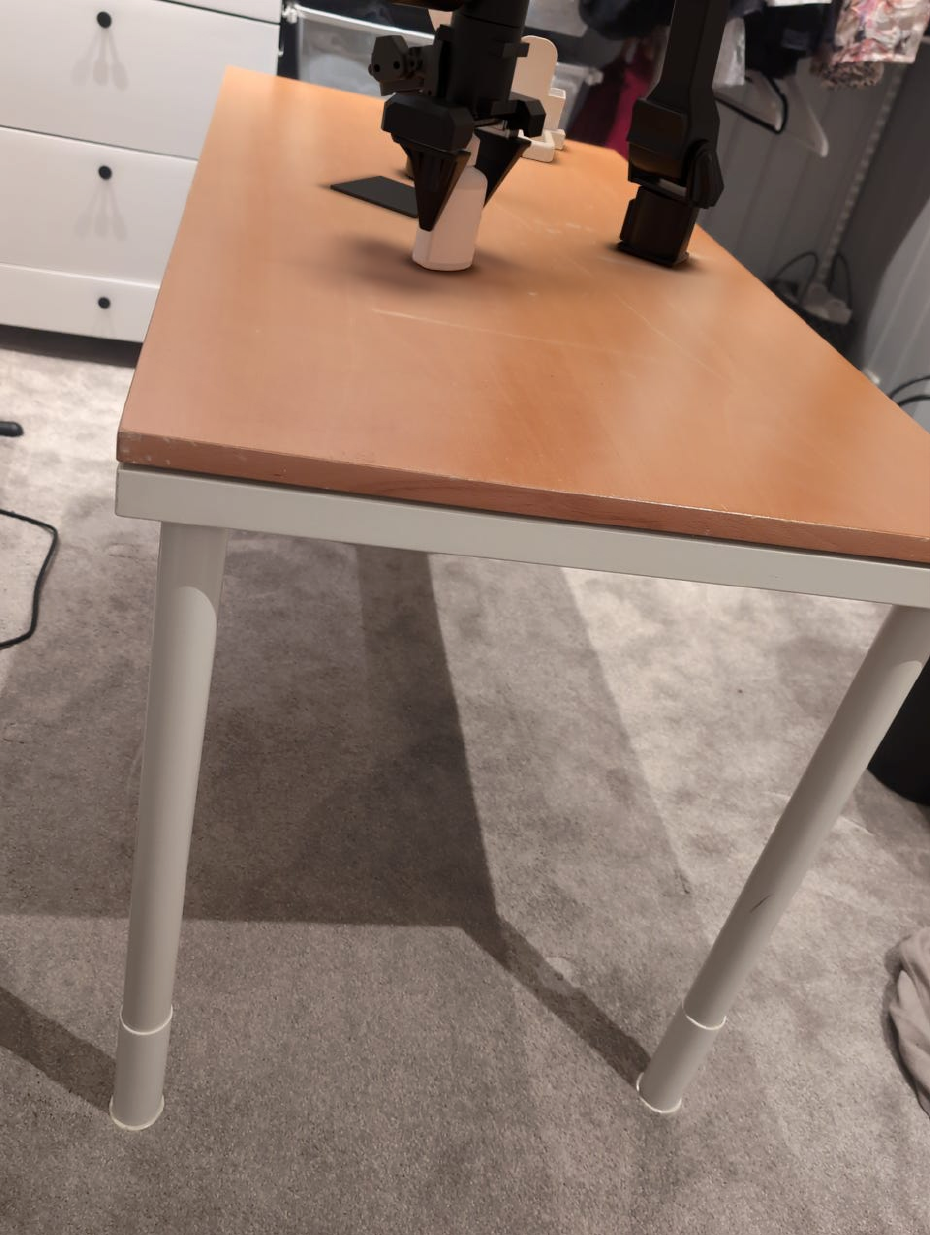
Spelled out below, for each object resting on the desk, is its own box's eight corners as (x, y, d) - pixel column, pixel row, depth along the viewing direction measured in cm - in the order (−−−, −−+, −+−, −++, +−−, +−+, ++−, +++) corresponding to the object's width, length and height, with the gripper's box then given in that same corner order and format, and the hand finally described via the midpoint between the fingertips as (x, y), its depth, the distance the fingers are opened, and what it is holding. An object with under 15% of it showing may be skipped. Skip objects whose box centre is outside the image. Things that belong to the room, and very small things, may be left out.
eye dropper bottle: (476, 277, 89) (507, 130, 83) (414, 268, 88) (440, 117, 81) (467, 261, 93) (496, 119, 86) (406, 252, 91) (431, 106, 85)
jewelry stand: (559, 144, 152) (606, -51, 138) (569, 167, 140) (622, -46, 126) (393, 107, 149) (424, -97, 135) (388, 127, 136) (422, -96, 122)
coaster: (459, 205, 109) (460, 203, 109) (414, 217, 101) (414, 214, 101) (380, 178, 112) (380, 175, 112) (329, 188, 104) (330, 185, 104)
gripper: (452, -2, 89) (420, 185, 98) (336, -12, 74) (310, 208, 83) (568, 31, 86) (524, 220, 95) (470, 27, 71) (428, 251, 80)
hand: (449, 223), depth 88 cm, fingers closed on eye dropper bottle, 8 cm apart
